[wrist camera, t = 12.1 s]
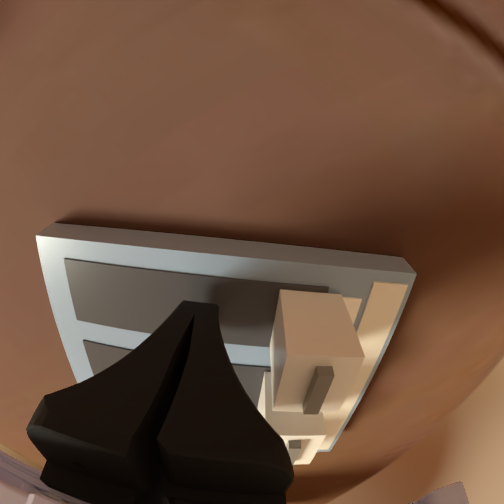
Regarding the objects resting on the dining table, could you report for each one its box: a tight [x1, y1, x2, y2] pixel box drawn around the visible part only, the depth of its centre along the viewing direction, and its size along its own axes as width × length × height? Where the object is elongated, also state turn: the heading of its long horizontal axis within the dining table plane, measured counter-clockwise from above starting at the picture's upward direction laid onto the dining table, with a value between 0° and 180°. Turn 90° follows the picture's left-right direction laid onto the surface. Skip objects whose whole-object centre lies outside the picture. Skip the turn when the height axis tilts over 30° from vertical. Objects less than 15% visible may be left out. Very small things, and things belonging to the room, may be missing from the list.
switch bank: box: [36, 223, 417, 452], centre depth 15 cm, size 14×16×2 cm
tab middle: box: [258, 371, 326, 466], centre depth 12 cm, size 3×2×4 cm
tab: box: [270, 289, 365, 415], centre depth 10 cm, size 3×2×4 cm
